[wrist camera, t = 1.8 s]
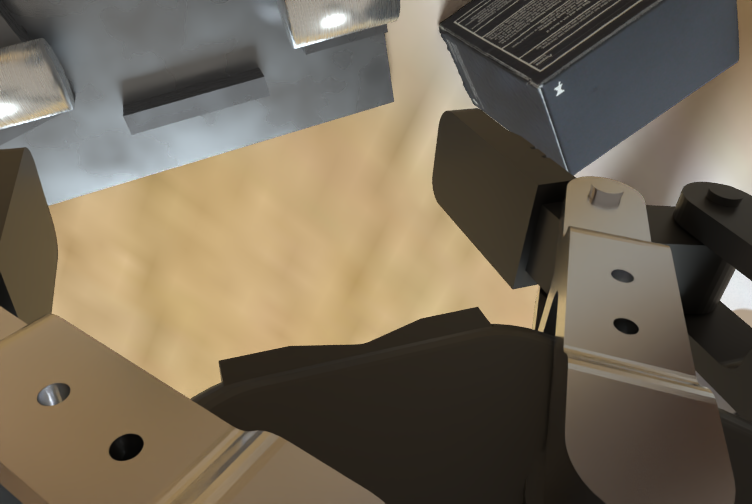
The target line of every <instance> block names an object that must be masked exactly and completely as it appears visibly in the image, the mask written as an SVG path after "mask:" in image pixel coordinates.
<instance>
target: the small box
mask: <svg viewBox="0 0 752 504" xmlns="http://www.w3.org/2000/svg"><path fill="white" fill-rule="evenodd" d="M439 32H440V33H441V37H442V38H443V40H444V41H445V42H446V44H447V49H448V50H449V51H450V53H451V56H452V58H453V60H454V63H455V64H456V67H457V69H458V72H459V74H460V76H461V78H462V80H463V86H464V87H465V90H466V91H467V93H468V95H469V97H470V98H471V100H472V102H473V104H474V105H475V106H477V107H478V108H480V109H481V110H482V111H484V112H485V113H486V114H488V115H489V116H490V117H492V118H493V119H494V120H496V121H497V122H498V123H500V124H501V125H502V126H503V127H505V128H506V129H507V130H509V131H510V132H513V133H515V134H517V135H520V136H522V137H523V138H524V139H526V140H527V141H528V142H530V143H531V144H532V145H534V146H535V149H539V150H540V151H541V152H543V153H544V154H545V155H546V157H547V158H551V159H552V160H553V161H555V162H556V163H557V164H559V165H560V166H561V167H563V168H564V169H565V170H567V171H568V172H569V173H570V174H572V175H575V174H576V173H577V172H579V171H581V170H582V169H583V168H585V167H586V166H588V165H589V164H591V163H592V162H593V161H595V160H596V159H598V158H599V157H601V156H602V155H603V154H605V153H606V152H608V151H609V150H610V149H612V148H613V147H615V146H616V145H618V144H619V143H621V142H622V141H623V140H625V139H626V138H628V137H629V136H631V135H632V134H634V133H635V132H636V131H638V130H639V129H641V128H642V127H644V126H645V125H647V124H648V123H649V122H651V121H652V120H654V119H655V118H657V117H658V116H660V115H661V114H663V113H664V112H665V111H667V110H668V109H670V108H671V107H673V106H674V105H675V104H677V103H678V102H680V101H681V100H683V99H684V98H686V97H687V96H689V95H690V94H691V93H693V92H694V91H696V90H697V89H699V88H700V87H702V86H703V85H705V84H706V83H707V82H709V81H710V80H712V79H713V78H715V77H716V76H718V75H719V74H721V73H722V72H724V71H725V70H726V69H728V68H729V67H731V66H732V65H734V64H735V63H737V62H738V60H739V37H738V36H739V32H738V18H737V1H736V0H472V1H471V2H470V3H468V4H467V5H465V6H464V7H463V8H461V9H460V10H459V11H457V12H456V13H454V14H453V15H452V16H450V17H449V18H448V19H446V20H445V21H443V22H442V23H440V27H439Z"/></svg>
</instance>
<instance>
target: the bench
mask: <svg viewBox="0 0 752 504" xmlns="http://www.w3.org/2000/svg"><path fill="white" fill-rule="evenodd" d="M399 13H400V0H0V149H11V148H22V147H27V148H28V149H29V150H30V152H31V154H32V156H33V159H34V162H35V165H36V168H37V172H38V175H39V178H40V181H41V185H42V188H43V191H44V195H45V198H46V201H47V204H48V206H49V205H52V204H55V203H59V202H62V201H65V200H69V199H72V198H75V197H79V196H82V195H85V194H89V193H92V192H95V191H99V190H102V189H105V188H108V187H112V186H115V185H118V184H122V183H125V182H128V181H132V180H135V179H138V178H142V177H145V176H148V175H152V174H155V173H158V172H162V171H165V170H168V169H172V168H175V167H178V166H182V165H185V164H188V163H192V162H195V161H198V160H202V159H205V158H208V157H212V156H215V155H218V154H222V153H225V152H228V151H232V150H235V149H238V148H242V147H245V146H248V145H252V144H255V143H258V142H262V141H265V140H268V139H271V138H275V137H278V136H281V135H285V134H288V133H291V132H295V131H298V130H301V129H305V128H308V127H311V126H315V125H318V124H321V123H325V122H328V121H331V120H335V119H338V118H341V117H345V116H348V115H351V114H355V113H358V112H361V111H365V110H368V109H371V108H375V107H378V106H381V105H385V104H388V103H391V102H394V98H393V91H392V84H391V76H390V69H389V62H388V55H387V48H386V41H385V34H384V33H386V32H388V31H387V23H391V22H394V21H396V20H397V19H398V17H399Z"/></svg>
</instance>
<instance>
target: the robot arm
mask: <svg viewBox="0 0 752 504" xmlns="http://www.w3.org/2000/svg"><path fill="white" fill-rule="evenodd" d="M432 184H433V191H434V195H435V198H436V200H437V202H438V204H439V205H440V206H441V207H442V208H443V209H444V211H445V212H446V213H447V214H448V215H449V216H450V218H451V219H452V220H453V221H454V222H455V223H456V224H457V226H458V227H459V228H460V229H461V230H462V231H463V233H464V234H465V235H466V236H467V237H468V238H469V239H470V241H471V242H472V243H473V244H474V245H475V246H476V248H477V249H478V250H479V251H480V252H481V253H482V254H483V256H484V257H485V258H486V259H487V260H488V261H489V263H490V264H491V265H492V266H493V267H494V268H495V269H496V271H497V272H498V273H499V274H500V275H501V276H502V278H503V279H504V280H505V281H506V282H507V283H508V284H509V286H510V287H511V288H512V289H517V288H522V287H527V286H532V285H537V284H538V285H539V286H540V287H539V290H538V294H537V298H536V301H535V309H534V316H533V324H532V329H529V328H525V327H519V326H512V325H502V324H490V322H489V321H488V320H487V318H486V317H485V316H484V314H483V313H482V312H481V310H480V309H479V308H478V307H475V308H470V309H465V310H460V311H456V312H451V313H446V314H441V315H436V316H432V317H427V318H422V319H419V320H417V321H415V322H413V323H410V324H408V325H406V326H404V327H401V328H399V329H397V330H395V331H392V332H390V333H388V334H386V335H384V336H381V337H379V338H377V339H375V340H372V341H370V342H368V343H364V344H357V345H316V346H288V347H283V348H278V349H273V350H269V351H264V352H259V353H254V354H249V355H245V356H240V357H235V358H230V359H225V360H221V361H219V367H220V374H221V383H219V384H217V385H214V386H212V387H210V388H208V389H207V390H205V391H203V392H201V393H199V394H198V395H196V396H194V397H193V398H191V399H189V398H187V397H186V396H184V395H183V394H181V393H179V392H178V391H176V390H175V389H173V388H172V387H170V386H168V385H167V384H165V383H164V382H162V381H160V380H159V379H157V378H156V377H154V376H153V375H151V374H149V373H148V372H146V371H145V370H143V369H142V368H140V367H138V366H137V365H135V364H134V363H132V362H131V361H129V360H127V359H126V358H124V357H123V356H121V355H119V354H118V353H116V352H115V351H113V350H112V349H110V348H108V347H107V346H105V345H104V344H102V343H101V342H99V341H97V340H96V339H94V338H93V337H91V336H90V335H88V334H86V333H85V332H83V331H82V330H80V329H78V328H77V327H75V326H74V325H72V324H71V323H69V322H67V321H66V320H64V319H63V318H61V317H59V316H57V315H54V314H51V312H52V304H53V295H54V287H55V278H56V270H57V261H58V245H57V238H56V233H55V228H54V224H53V221H52V217H51V214H50V211H49V208H48V204H47V201H46V198H45V195H44V191H43V188H42V185H41V181H40V178H39V175H38V172H37V168H36V165H35V162H34V159H33V156H32V154H31V152H30V150H29V149H28V148H27V147H22V148H11V149H0V504H752V328H751V327H750V326H749V325H748V324H747V323H745V322H744V321H743V320H742V319H741V318H739V317H738V316H737V315H736V314H735V313H734V312H732V311H731V310H730V309H729V308H728V307H727V306H725V305H724V304H723V303H722V302H721V301H720V299H721V297H722V295H723V293H724V291H725V289H726V287H727V285H728V283H729V281H730V279H731V277H732V275H733V273H734V271H735V269H737V270H738V271H739V272H741V273H742V274H743V275H745V276H746V277H747V278H749V279H750V280H751V281H752V196H751V195H749V194H747V193H745V192H743V191H741V190H738V189H736V188H734V187H731V186H728V185H723V184H718V183H711V182H694V183H690V184H687V185H686V186H684V188H683V190H682V192H681V195H680V197H679V199H678V202H677V204H676V207H673V206H652V205H646V204H645V200H644V197H643V196H642V195H641V194H640V193H639V192H638V191H637V190H635V189H634V188H632V187H631V186H629V185H627V184H624V183H622V182H619V181H616V180H613V179H608V178H603V177H594V176H586V177H579V178H576V177H574V176H573V175H572V174H570V173H569V172H568V171H567V170H565V169H564V168H563V167H561V166H560V165H559V164H557V163H556V162H555V161H553V160H552V159H551V158H547V157H546V155H545V154H544V153H543V152H541V151H540V150H539V149H535V146H534V145H532V144H531V143H530V142H528V141H527V140H526V139H524V138H523V137H522V136H520V135H517V134H515V133H513V132H510V131H508V130H506V129H505V128H504V127H503V126H501V125H500V124H499V123H497V122H496V121H495V120H493V119H492V118H491V117H490V116H488V115H487V114H486V113H484V112H483V111H482V110H480V109H478V108H475V109H463V110H452V111H446V112H444V113H443V114H442V116H441V119H440V122H439V128H438V136H437V144H436V152H435V160H434V168H433V177H432Z"/></svg>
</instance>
